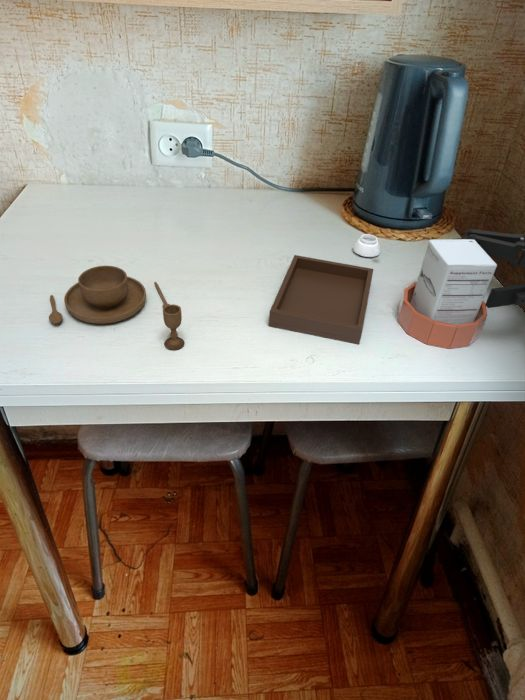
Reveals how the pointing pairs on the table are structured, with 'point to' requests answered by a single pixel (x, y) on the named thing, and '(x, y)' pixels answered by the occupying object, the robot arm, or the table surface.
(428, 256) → the white packaging box
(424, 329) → the terracotta ring
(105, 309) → the place setting
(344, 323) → the tray
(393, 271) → the table surface
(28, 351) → the table surface
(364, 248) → the white jar
